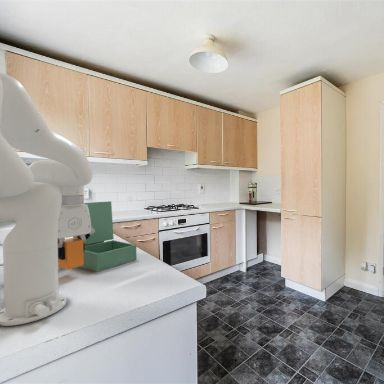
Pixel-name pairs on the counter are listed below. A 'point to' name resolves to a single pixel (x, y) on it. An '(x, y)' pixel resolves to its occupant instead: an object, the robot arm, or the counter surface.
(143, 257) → the counter surface
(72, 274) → the counter surface
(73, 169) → the robot arm
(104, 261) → the lunchbox
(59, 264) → the juice carton
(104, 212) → the lunchbox lid
